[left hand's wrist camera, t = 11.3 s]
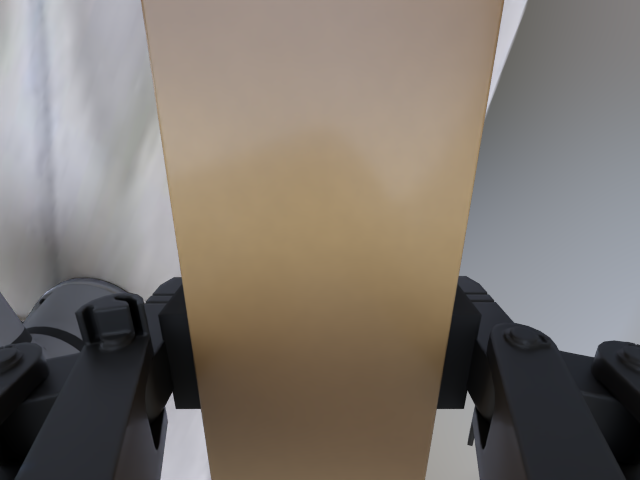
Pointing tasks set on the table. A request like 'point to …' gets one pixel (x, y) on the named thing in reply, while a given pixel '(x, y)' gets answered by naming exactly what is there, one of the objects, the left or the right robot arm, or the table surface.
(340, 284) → the bar
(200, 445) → the table surface
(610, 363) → the left robot arm
